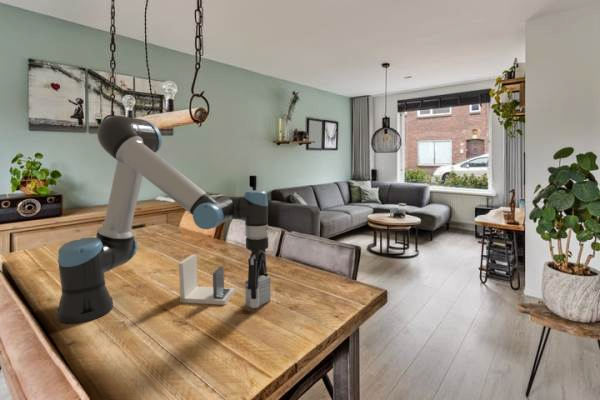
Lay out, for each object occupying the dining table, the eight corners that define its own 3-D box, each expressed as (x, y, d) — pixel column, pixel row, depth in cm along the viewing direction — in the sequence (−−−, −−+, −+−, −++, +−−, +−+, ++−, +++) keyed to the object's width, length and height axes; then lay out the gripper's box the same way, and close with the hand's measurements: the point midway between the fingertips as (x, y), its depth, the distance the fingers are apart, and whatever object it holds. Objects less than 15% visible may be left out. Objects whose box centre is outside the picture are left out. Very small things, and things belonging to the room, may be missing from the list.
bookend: (213, 298, 111) (212, 273, 110) (221, 290, 118) (220, 266, 117) (223, 298, 111) (222, 273, 110) (229, 290, 118) (229, 266, 117)
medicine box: (262, 297, 115) (261, 274, 114) (271, 301, 113) (270, 277, 111) (245, 305, 109) (244, 281, 108) (254, 309, 107) (253, 284, 105)
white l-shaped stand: (180, 302, 112) (178, 263, 110) (194, 289, 122) (192, 254, 120) (225, 304, 110) (223, 265, 108) (234, 292, 120) (233, 255, 118)
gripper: (260, 245, 97) (261, 316, 100) (274, 229, 118) (275, 288, 121) (235, 244, 98) (237, 315, 101) (254, 229, 119) (255, 287, 122)
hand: (258, 300), depth 111 cm, fingers closed on medicine box, 9 cm apart
